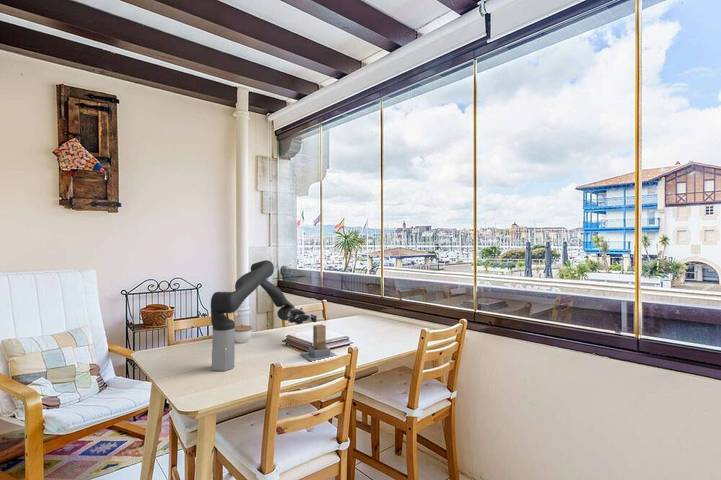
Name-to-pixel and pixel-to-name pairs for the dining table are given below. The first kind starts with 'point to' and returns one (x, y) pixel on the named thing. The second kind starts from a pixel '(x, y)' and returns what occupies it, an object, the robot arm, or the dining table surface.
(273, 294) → the robot arm
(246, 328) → the lidded jar
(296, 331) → the dining table surface
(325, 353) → the slate stand
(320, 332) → the walnut block
